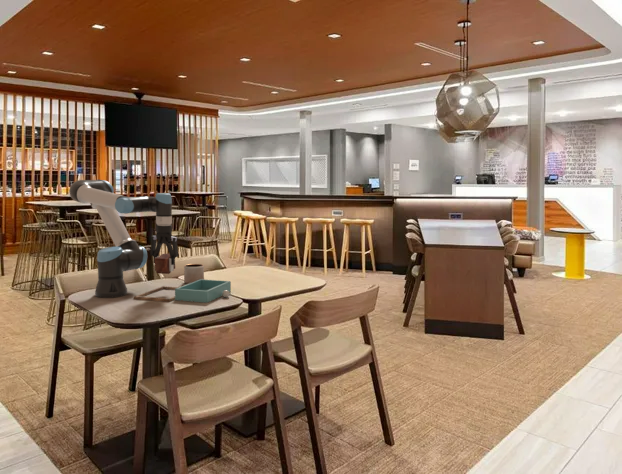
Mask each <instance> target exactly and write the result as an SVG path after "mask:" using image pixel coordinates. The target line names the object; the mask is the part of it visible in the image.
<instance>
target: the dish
mask: <svg viewBox="0 0 622 474" xmlns="http://www.w3.org/2000/svg"><path fill="white" fill-rule="evenodd" d="M178 287H179V288H176V289H175V290H174V296H175V300H174V301H181V300H183V301H184V302H193V301H194V302H195V303H210V302H212V301H214V300H216V299H218V298H220V297H223V295H222V292H223V291H224V290H228V291H229V293H231V292H232V288H231V281H229V280H219V279H218V280H216V279H205V278H204V279H200V280H197V281H195V282H192V283H189V284H187V283H186V284H185V285H182V286H178Z"/></svg>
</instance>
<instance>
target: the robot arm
mask: <svg viewBox="0 0 622 474" xmlns="http://www.w3.org/2000/svg"><path fill="white" fill-rule="evenodd" d="M68 191H69V193H68V194H69V196H70V198H71V199H72V200H73V201H75V202H76V203H82V204H88V203H89V204H90V206H91V208H92V209H93V210H96V211H97V213H98V215H99V217H100V218H101V220H102V222H103V225H104V226H105V229H106V231H107V232H108V234H109V236H110V238H111V240H112V242H113V244H114V246H108V247H105V248H104V247H103V248H100V249H99V250H98V252H97V255H96V257H97V258H96V260H97V278H98V279H97V283H96V288H95V290H94V295H95V297H97V298H105V299H107V298H109V299H110V298H118V297H123V296H126V295H128V288H127V285H126V282H125V279H124V272H129V271H132V270H138V269H142V268H143V267H144V266H145V265H146V264H147V262H148V261H147V260H148V251H147V249H146V248H145V247H144V246H142V245H139V244H138V243H137V241H136V239H132V237H131V235H130V234H129V232H128V230H127V228H126V226H125V224H124V222H123V221H122V219H121V216H120V214H123V215H124V214H125V215H126V214H134V213H135V214H136V213H146V212H147V213H148V212H149V213H155V224H156V227H155V231H156V234H155V235H150V240H151V243H150V251H149V252H150V253H149V254H150V255H149V256H152V257H153V263H154V264H155V258H157V257H160V256H159V254H160V251H161V248H162V246H163V244H164V245H165V246H166V248H167V250H168V253H169V254H170V257H171V258H169V272H171V273H172V272H174V271H175V269H174V264H175V265H176V258H177V257H179V248H178V238H179V237H177V236H173V234H172V233H173V225H172V224H173V214H172V213H173V211H172V210H173V207H172V206H173V199H172V195H171V193H166V192H162V193H161V192H157V193H156V194H155V196H148V195H142V196H127V195H126V196H124V195H121V194H118V193H114V192H115V190H114V187H113V185H112V184H111V183H110V181H107V180H105V179H80V180H76V181H74V182H73V183H72V184H71V185H70V187H69V190H68Z"/></svg>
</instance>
